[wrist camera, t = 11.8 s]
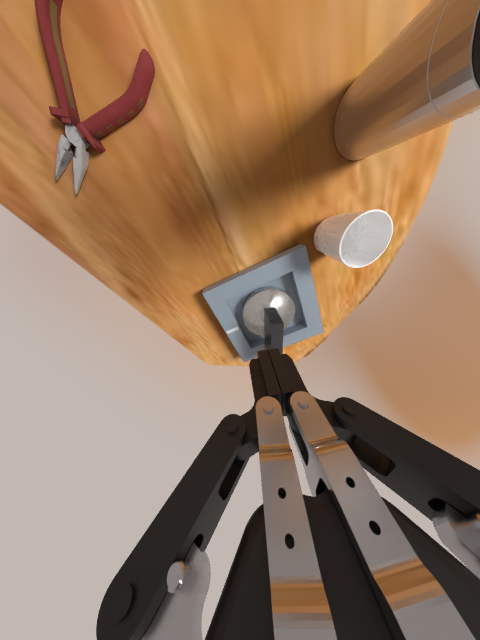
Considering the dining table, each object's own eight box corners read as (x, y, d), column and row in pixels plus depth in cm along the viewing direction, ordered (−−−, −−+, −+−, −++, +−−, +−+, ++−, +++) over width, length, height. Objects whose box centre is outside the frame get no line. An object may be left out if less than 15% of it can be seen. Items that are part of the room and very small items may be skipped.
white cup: (358, 224, 33) (404, 227, 25) (331, 262, 37) (363, 275, 28) (328, 203, 31) (368, 197, 22) (302, 245, 34) (328, 254, 26)
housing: (299, 243, 34) (306, 246, 31) (318, 325, 45) (324, 332, 42) (203, 288, 37) (202, 294, 34) (242, 354, 48) (243, 362, 46)
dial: (239, 289, 37) (244, 308, 29) (293, 283, 38) (312, 300, 30) (245, 345, 46) (249, 372, 38) (288, 340, 46) (302, 366, 38)
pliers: (27, 158, 25) (8, 152, 23) (57, -42, 18) (33, -80, 16) (110, 214, 29) (101, 214, 27) (161, 71, 22) (154, 55, 20)
